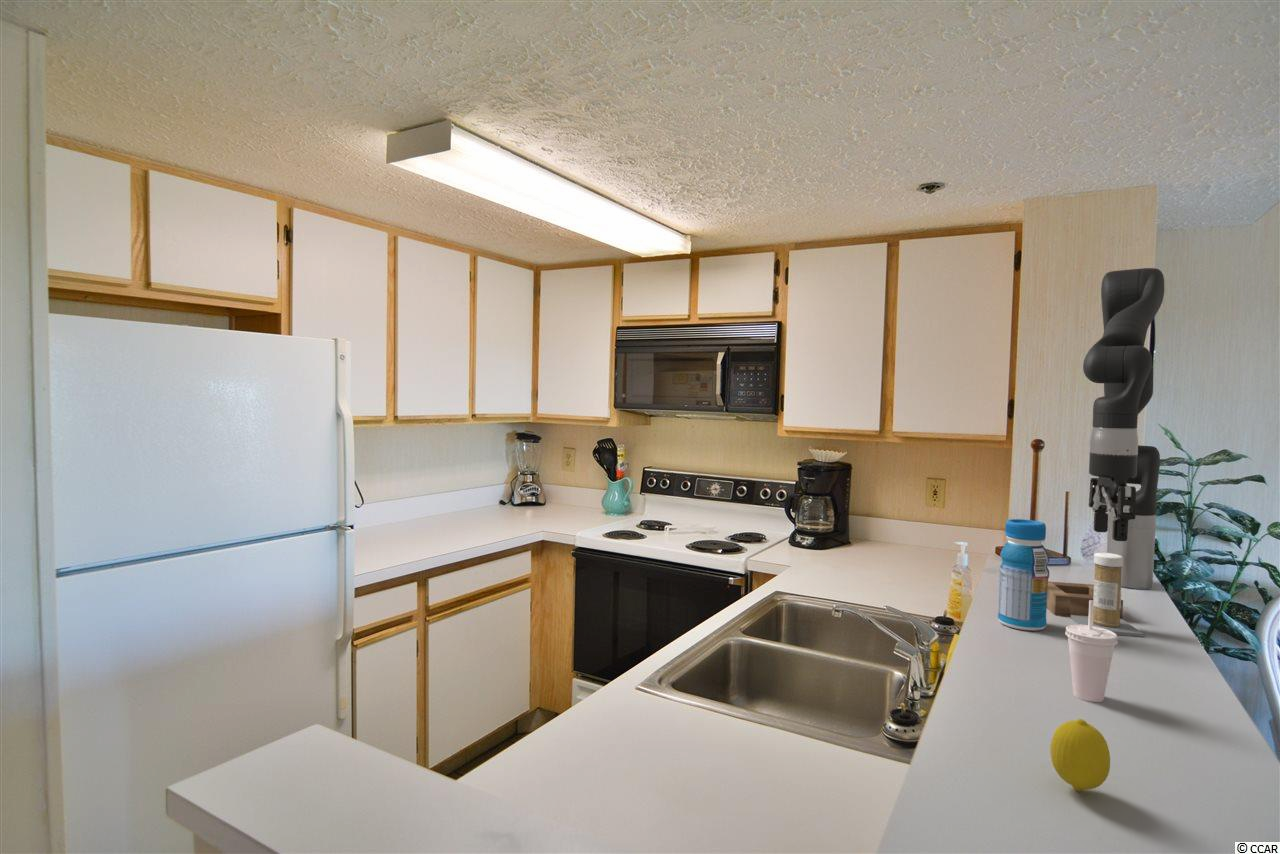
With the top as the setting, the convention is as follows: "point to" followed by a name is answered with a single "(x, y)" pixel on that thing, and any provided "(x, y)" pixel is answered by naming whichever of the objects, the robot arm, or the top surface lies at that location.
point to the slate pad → (1120, 630)
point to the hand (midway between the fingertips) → (1109, 536)
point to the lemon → (1080, 755)
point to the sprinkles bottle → (1107, 589)
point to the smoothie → (1090, 658)
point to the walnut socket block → (1071, 598)
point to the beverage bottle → (1024, 576)
